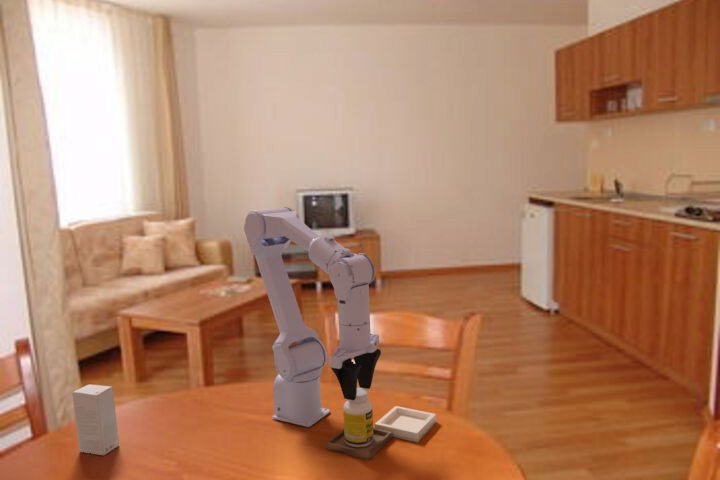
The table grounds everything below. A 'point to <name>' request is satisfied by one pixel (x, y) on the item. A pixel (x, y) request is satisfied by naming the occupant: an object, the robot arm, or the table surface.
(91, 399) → the skincare box
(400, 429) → the cream tray
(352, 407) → the supplement bottle
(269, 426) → the table surface
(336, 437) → the gray square tray
